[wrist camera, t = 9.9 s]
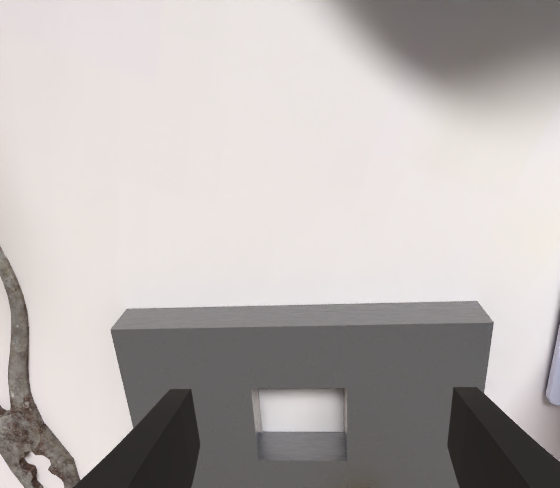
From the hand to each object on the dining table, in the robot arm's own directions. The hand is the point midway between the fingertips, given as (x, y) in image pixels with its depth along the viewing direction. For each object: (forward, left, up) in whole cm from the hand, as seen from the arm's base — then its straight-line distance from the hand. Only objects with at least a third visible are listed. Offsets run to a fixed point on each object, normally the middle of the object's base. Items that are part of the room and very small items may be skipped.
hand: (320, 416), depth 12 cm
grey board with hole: (+1, +8, -10) cm, 13 cm away
